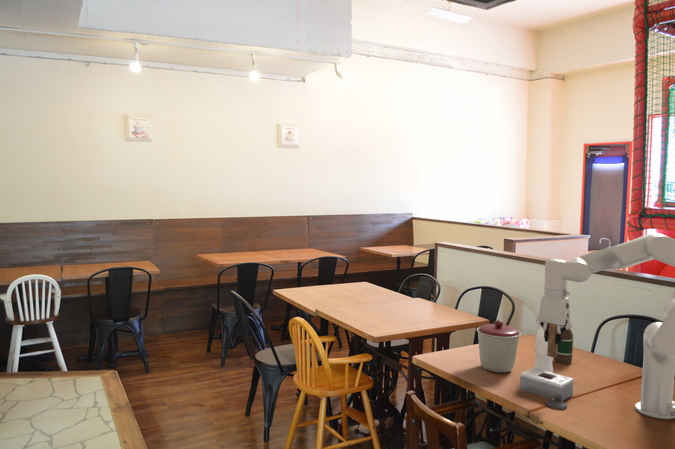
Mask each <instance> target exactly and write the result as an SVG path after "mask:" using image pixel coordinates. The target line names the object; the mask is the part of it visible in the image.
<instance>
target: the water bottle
mask: <svg viewBox="0 0 675 449" xmlns="http://www.w3.org/2000/svg"><path fill="white" fill-rule="evenodd" d="M547 349H548V341H547V342H545V338H544V330H543V328H542V326H541V325H540V327H539V328H538V330H537V332H536V334H535V348H534V352H535V362H534V365H533V366H534V367H533V368H536V369H540V370H544V371H547V372H551V373H554V366H553V357H550V356H547Z"/></svg>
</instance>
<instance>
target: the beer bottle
mask: <svg viewBox="0 0 675 449" xmlns="http://www.w3.org/2000/svg"><path fill="white" fill-rule="evenodd" d="M563 326H564V327H565V326H566V324H565V325H563ZM571 329H572V328H570V329H567V330H565V331H564V332H563V333H562V342H561V343H559V344H558V348H557V357H552V359H553V361H554V363H556V364H559V365H566V366H567V365H571V364H572V362H573V361H572V360H573V348H574V346H573V345H574V335H573V331H572V330H571Z"/></svg>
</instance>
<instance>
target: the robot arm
mask: <svg viewBox="0 0 675 449" xmlns="http://www.w3.org/2000/svg"><path fill="white" fill-rule="evenodd" d="M653 260H656V261H658V262H661V263H664V264H665V265H669V266H671V267H674V268H675V238H673V237H669V236H668V235H665V234H663V233H659V232H654V233H649V234H645V235H643V236H640V237H636V238H634V239H631V240H628V241H625V242H622V243H619V244H616V245H611V246H609V247H605V248H603V249H600V250H595V251H591V252H589V253H586V254H581V255H579V256H576V257H574V258H572V259H571V260H569V261H567V260H565V259H560V258H549V259H547V260H546V261H545V262H544V263H545V264H544V266H545V267H544V282H543V284H544V287H543V288H544V289H543V294H542V296H541V299H540V304H539V310H538V316H537V317H536V318H535V322H537V323H538V324H539V325H540V327H541V326H542V328H543V330H544V338H545V342H547V341H548V326H549V323H551V324H555V325H557V333H556V338H555V344H559V343H561V342H562V333H563V332H564V331H565V330H567V329H572V328H573V324H572V322H571V308H570V306H571V305H570V300H569V296H570V294H571V293H570V291H568V289H567V285H568V284H567V282H568V281H570V282H575V283H584V282H586V281H588V280H589V279H590V278H591V276H592V274H595V273H597V272H601V271H607V270H623V269H628V268H631V267H635V266H637V265H640V264H642V263H645V262H650V261H653ZM567 296H568V297H567ZM662 314H663V316H664V320H663V321H662V322H661V321H655V322H652V323H650V324H648V325H647V326H646V328H645V329H644V332H643V338H642V339H643V342H642V343H643V359H642V360H643V361H642V362H643V363H642V364H643V365H642V373H641V375H642V376H641V377H642V378H641V390H640V391H641V392H640V401H639V402H636V403H635V404H634V408H635V410H636V411H637V412H638V413H640V414H642V415H644V416H647V417H651V418H654V419H658V420H660V419H661V420H674V419H675V401H674V400H673V397H674V384H675V383H674V382H675V288H674V289H673V291H672V292H671V294H670V295H669V297H668V299H667V300H666V301H665V303H664V305H663V306H662ZM565 324H566V326H565V327H564V326H563V325H565Z"/></svg>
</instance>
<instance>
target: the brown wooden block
mask: <svg viewBox="0 0 675 449" xmlns="http://www.w3.org/2000/svg"><path fill="white" fill-rule="evenodd" d="M556 333H557V325H555V324H551V323H549V326H548V349H547V356H550V357H552V358H553V357H557V348H558V344H555V338H556Z"/></svg>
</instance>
